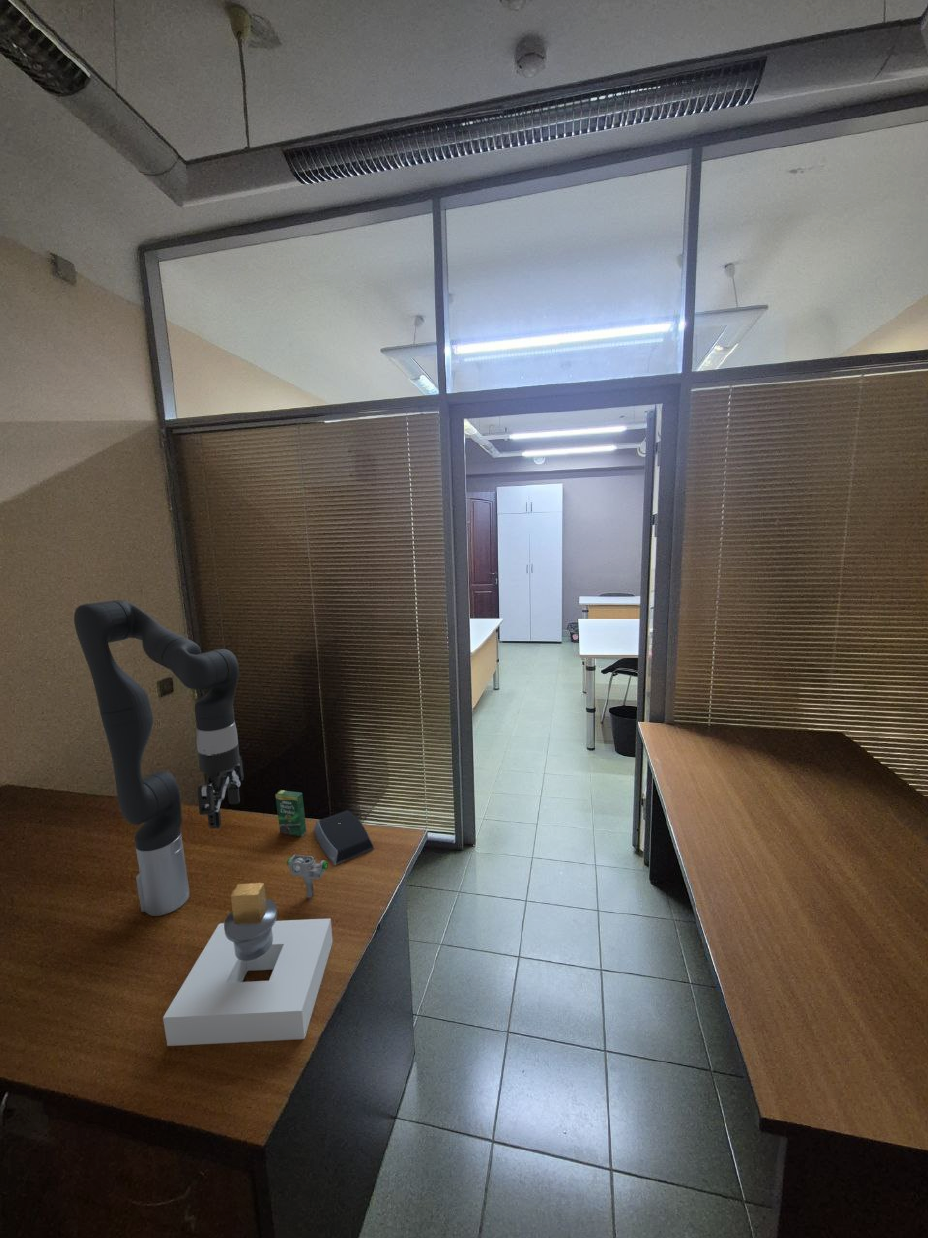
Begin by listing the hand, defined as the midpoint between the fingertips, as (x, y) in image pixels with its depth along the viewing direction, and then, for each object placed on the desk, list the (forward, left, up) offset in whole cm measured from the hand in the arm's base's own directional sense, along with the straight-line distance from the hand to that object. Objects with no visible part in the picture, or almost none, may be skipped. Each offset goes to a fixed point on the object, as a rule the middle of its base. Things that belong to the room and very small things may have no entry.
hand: (225, 814), depth 100 cm
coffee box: (0, +36, -30) cm, 47 cm away
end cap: (+10, -14, -21) cm, 26 cm away
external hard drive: (+16, +32, -30) cm, 47 cm away
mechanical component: (+13, +10, -30) cm, 34 cm away
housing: (+10, -14, -30) cm, 34 cm away
